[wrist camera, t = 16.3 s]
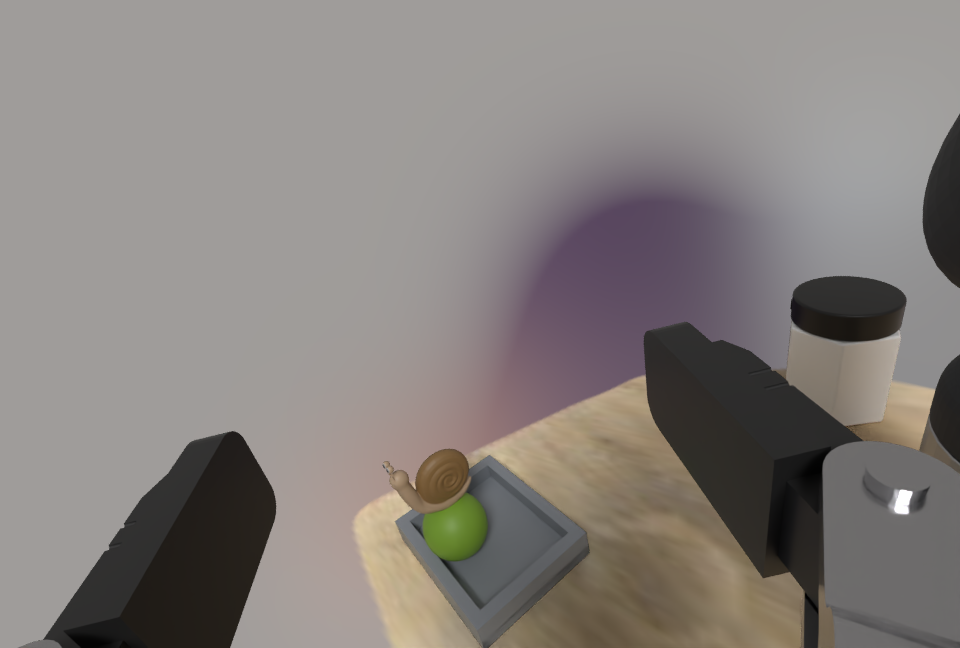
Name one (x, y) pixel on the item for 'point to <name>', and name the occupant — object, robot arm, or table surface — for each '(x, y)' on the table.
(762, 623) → the table surface
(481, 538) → the snail figurine
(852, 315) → the jar
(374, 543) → the table surface
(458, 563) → the tray
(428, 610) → the table surface
